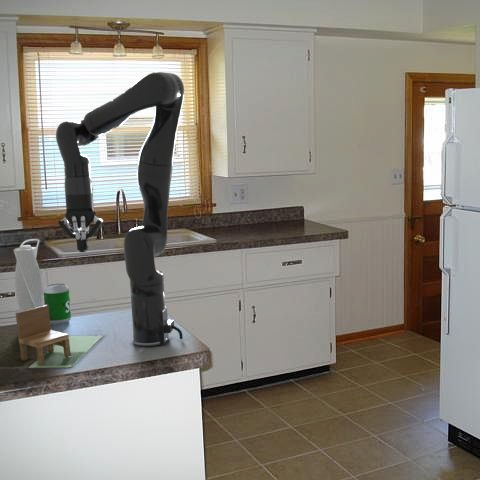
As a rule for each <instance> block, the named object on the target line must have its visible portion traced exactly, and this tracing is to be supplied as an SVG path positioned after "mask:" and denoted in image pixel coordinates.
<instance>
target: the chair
mask: <svg viewBox="0 0 480 480" xmlns="http://www.w3.org/2000/svg"><path fill="white" fill-rule="evenodd" d="M15 320H16V328H17V336H18V343H19V352H20V359H21V361H27V360H28V359H29V357H28V350H27V346H30V347H32V348H35V352H36V361H38V365H39V366H41V365H44V356H43V355H44V347H46V348H47V351H48V352H53V351H54V347H53V346H54V345H58V346H62V347H63V348H64V356H65V357H69V356H71V353H70V344H69V336H70V335H69V334H68V333H64V332H62V331H61V332H60V331H57V330H53V329H52V325H51V324H50V317H49V309H48V305H45V304H43V305H42V306H40V307H36V308H32V309H28V310H25V311H21V312H20V311H18V312H15Z"/></svg>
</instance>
